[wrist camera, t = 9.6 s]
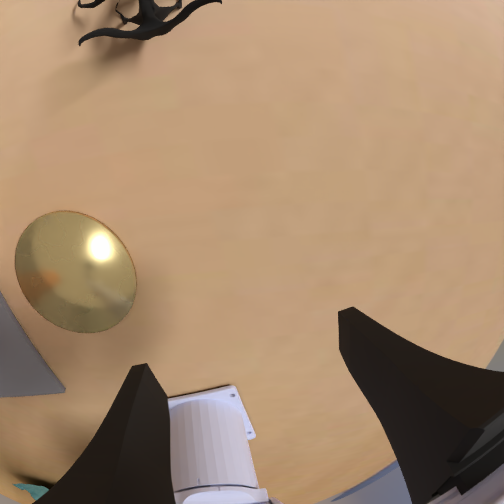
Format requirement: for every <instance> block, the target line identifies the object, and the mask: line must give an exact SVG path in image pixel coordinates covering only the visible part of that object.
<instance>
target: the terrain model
mask: <svg viewBox="0 0 504 504" xmlns="http://www.w3.org/2000/svg"><path fill="white" fill-rule="evenodd" d="M13 485H15V486H16V487H18V488H20V489H22V490H24V489H25V490H27V491H28V492H29V493H30V494H31V496H32V497H33V498H34V499H35V500H38V499H39V498H40V497H41V496H42V495H44V494H45V493H46V492H47V491H48V490H49V489H47V488H46V487H44V486H36V485H31V484H13Z"/></svg>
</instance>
